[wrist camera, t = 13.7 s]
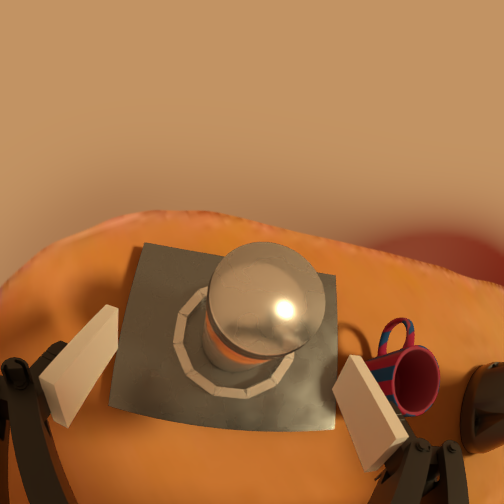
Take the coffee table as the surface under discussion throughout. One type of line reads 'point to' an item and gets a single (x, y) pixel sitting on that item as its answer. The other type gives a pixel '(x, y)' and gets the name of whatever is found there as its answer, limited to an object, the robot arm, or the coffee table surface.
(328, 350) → the grey base plate
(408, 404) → the mug
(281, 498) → the coffee table surface
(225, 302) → the disc
